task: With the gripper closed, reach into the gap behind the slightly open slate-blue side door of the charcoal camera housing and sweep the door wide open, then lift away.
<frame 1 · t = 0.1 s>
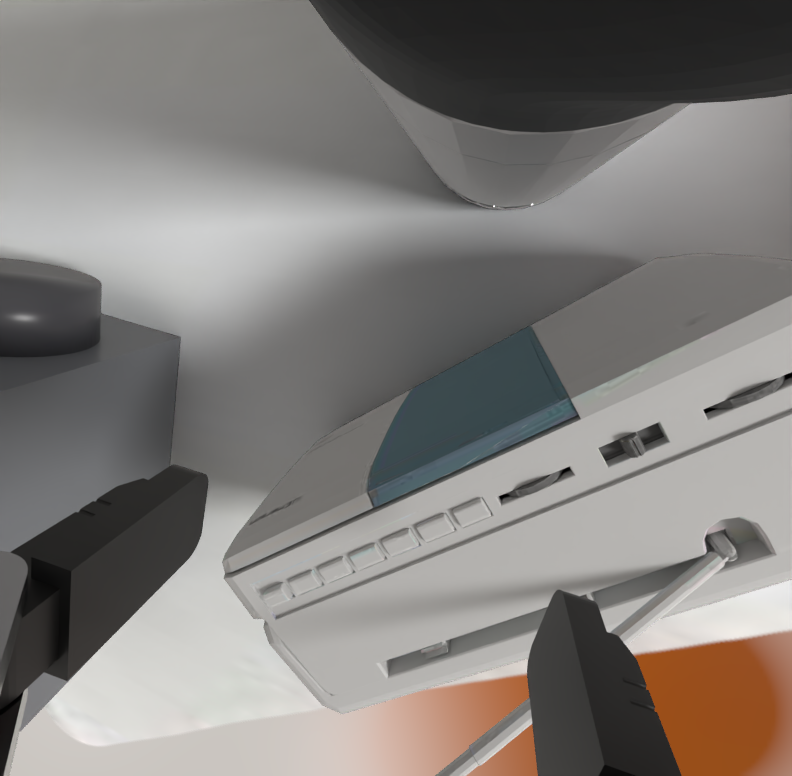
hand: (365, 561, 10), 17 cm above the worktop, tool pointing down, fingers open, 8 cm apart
stereo radio cassette player: (503, 407, 27), on the worktop
camera housing: (104, 453, 33), on the worktop
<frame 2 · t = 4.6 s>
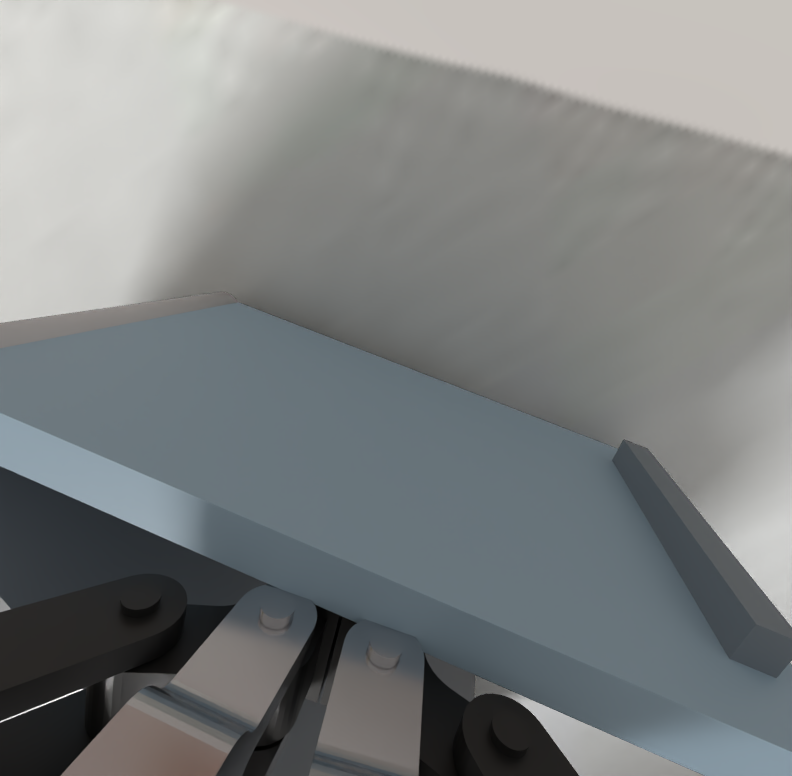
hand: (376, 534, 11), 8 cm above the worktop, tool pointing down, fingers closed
side door: (382, 427, 12), point 6 cm above the worktop, hinge at 35.1°, touching gripper
camera housing: (270, 546, 22), on the worktop
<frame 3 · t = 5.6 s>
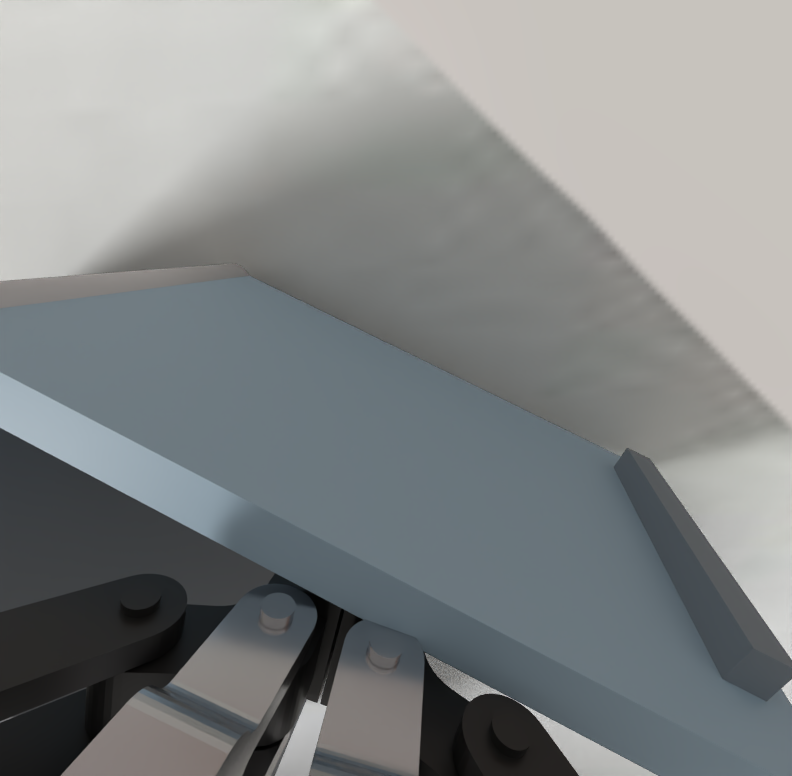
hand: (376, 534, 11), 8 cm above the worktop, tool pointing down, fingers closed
side door: (390, 417, 12), point 7 cm above the worktop, hinge at 56.3°, touching gripper
camera housing: (184, 496, 23), on the worktop
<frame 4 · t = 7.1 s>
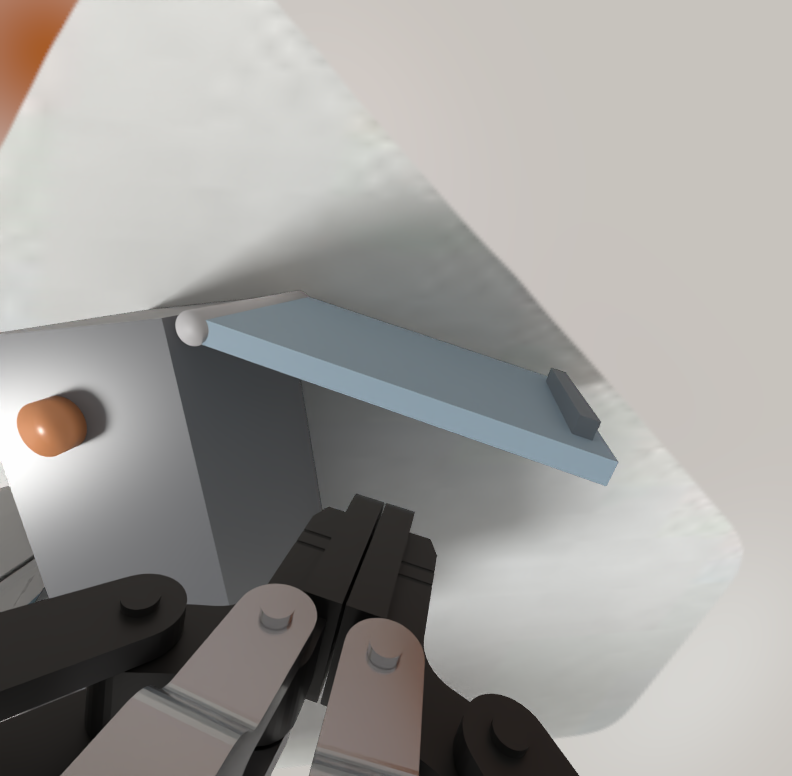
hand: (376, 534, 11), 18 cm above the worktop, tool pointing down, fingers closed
side door: (409, 357, 22), point 6 cm above the worktop, hinge at 66.8°
stereo radio cassette player: (11, 573, 41), on the worktop
camera housing: (244, 444, 33), on the worktop
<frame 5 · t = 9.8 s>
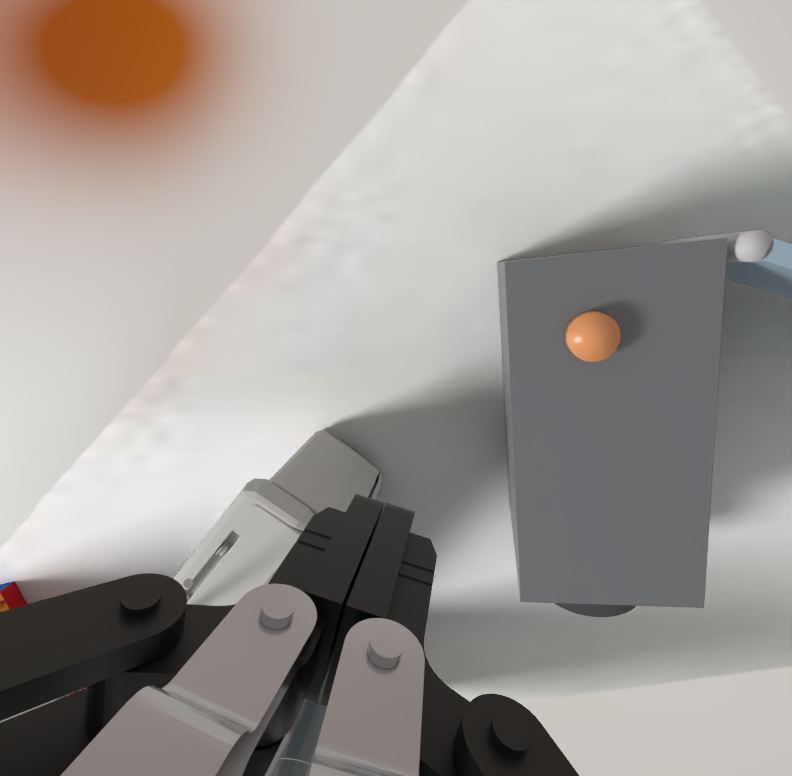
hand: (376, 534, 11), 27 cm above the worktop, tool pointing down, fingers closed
red cardboard box: (46, 683, 57), on the worktop
stereo radio cassette player: (292, 516, 44), on the worktop
camera housing: (569, 387, 36), on the worktop
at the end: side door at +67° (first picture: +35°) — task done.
